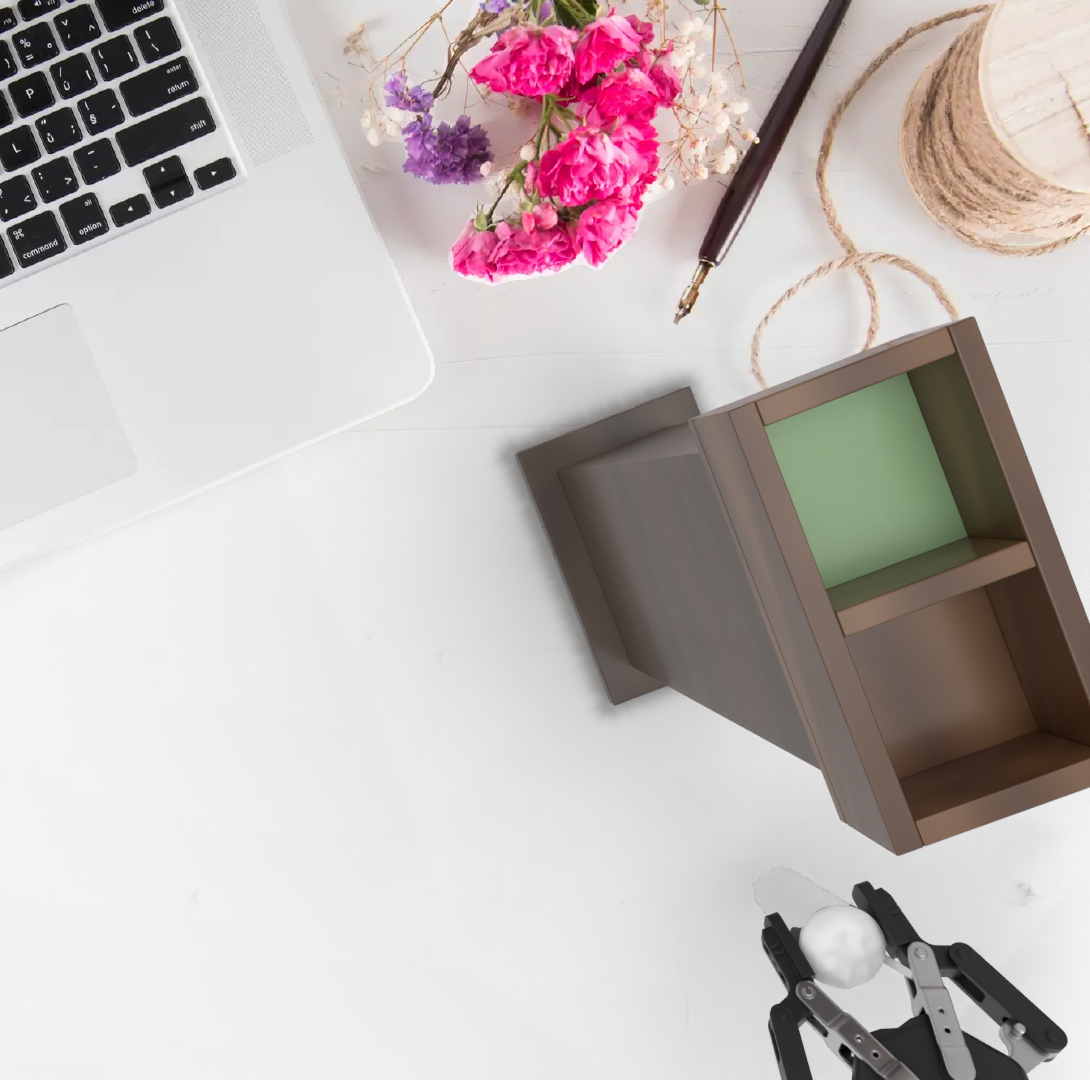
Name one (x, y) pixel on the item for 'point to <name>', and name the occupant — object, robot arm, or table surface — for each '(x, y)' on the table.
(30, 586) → the table surface
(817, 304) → the table surface
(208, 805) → the table surface
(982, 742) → the box
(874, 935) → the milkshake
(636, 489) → the stand
